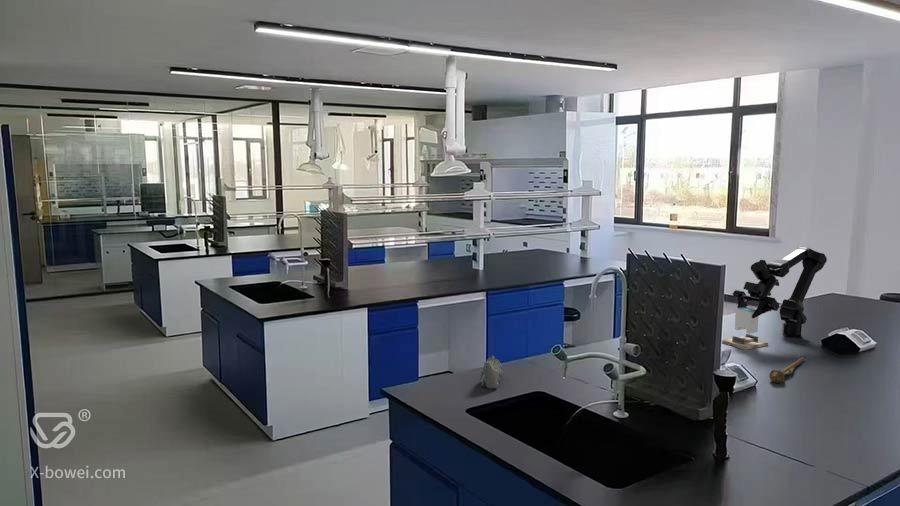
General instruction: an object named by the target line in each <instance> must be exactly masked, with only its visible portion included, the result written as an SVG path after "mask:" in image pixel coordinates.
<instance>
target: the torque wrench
mask: <svg viewBox="0 0 900 506" xmlns="http://www.w3.org/2000/svg"><path fill="white" fill-rule="evenodd" d="M804 362H805V358H804V357H800V358H799V359H797V360H796V361H794V362H793V363H790V364H789V365H788V366H786V367H785V368H783V369H781V370H780V369H772V370H771V371H770V372H769V379H770V381H771V382H773V383H775V384H782V383H783V382H784V381H785V379H786V377H785V376H786V375H792V373H793V372H794V370H795V368H796V367H797V366H799V365H800V364H802V363H804Z"/></svg>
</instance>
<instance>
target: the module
mask: <svg viewBox="0 0 900 506" xmlns="http://www.w3.org/2000/svg"><path fill="white" fill-rule="evenodd" d="M755 310H756V309H754V308H752V307H748V306H747V307H741V308H737V307H736V308H735V315H734V317H735V319H734V330H735V331H741V330H745V332H746V334H750V335H751V334H754V333H758V332H759V331H758V330H759V329H758V328H759V318H760V317H759V316H760V315H759V316H757V317H755V318H752V315H753V313H754V312H755Z"/></svg>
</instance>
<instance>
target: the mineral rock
mask: <svg viewBox="0 0 900 506" xmlns="http://www.w3.org/2000/svg"><path fill="white" fill-rule="evenodd" d="M503 374H504V369H503V366H502V363H501V361H500V360H499V359H497V358H495V356H494V355H491V357H489V358H488V359H487V360H486V361H484V363H483V369H482V371H481V375H480V382H481V387H482V388H487V389H497V388H498V387H499V382H500V380H501V379H502V378H503Z"/></svg>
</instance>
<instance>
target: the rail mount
mask: <svg viewBox="0 0 900 506" xmlns="http://www.w3.org/2000/svg"><path fill="white" fill-rule="evenodd" d="M721 343H722V344H724V343H725V344H724V345H727V344H729V345H728V346H731V347H734V348H737V349H740V350H745V351H746V350H750V349H757V348H762V347H766V346H769V342H768V341H764V340H762V339H759V336H757V335H753V334H751V333H750V334H749V333H746V334H745V335H742V336H735V335H733V336H732V337H731V338H725V339H722V340H721Z"/></svg>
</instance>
